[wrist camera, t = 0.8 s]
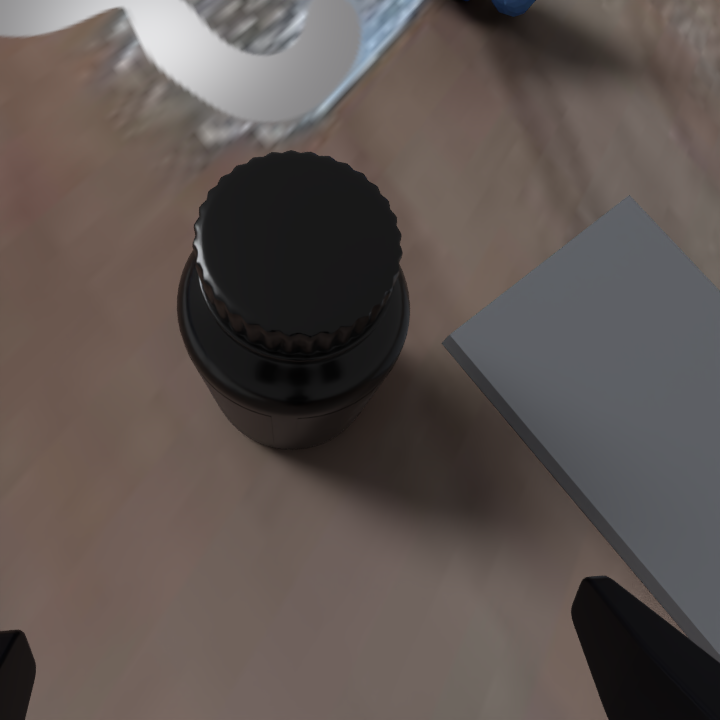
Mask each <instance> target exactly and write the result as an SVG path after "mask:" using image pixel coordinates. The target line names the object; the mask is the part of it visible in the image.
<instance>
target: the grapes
mask: <svg viewBox="0 0 720 720" xmlns="http://www.w3.org/2000/svg"><path fill="white" fill-rule="evenodd" d="M463 1H469V0H463ZM491 1H492V3H493V4H494V6H495V7H496V9H497V10H498V11H499V12H500V13H503V14H506V15H509V16H512V17H515V16H518V15H521V14H524V13H525V12H526V11H527V10H528V9H529V7H530V6H531V5H532V4H533V3H534V2H535V1H536V0H491Z"/></svg>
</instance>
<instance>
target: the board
mask: <svg viewBox="0 0 720 720" xmlns="http://www.w3.org/2000/svg"><path fill="white" fill-rule="evenodd" d="M442 344H443V345H444V347H445V348H446V349H447V350H448V351H449V353H450V354H451V355H452V356H453V357H454V358H455V360H456V361H457V362H458V363H459V364H460V366H461V367H462V368H463V369H464V370H465V372H466V373H467V374H468V375H469V376H470V378H471V379H472V380H473V381H474V382H475V383H476V385H477V386H478V387H479V388H480V389H481V391H482V392H483V393H484V394H485V395H486V397H487V398H488V399H489V400H490V401H491V403H492V404H493V405H494V406H495V407H496V409H497V410H498V411H499V412H500V413H501V414H502V416H503V417H504V418H505V419H506V420H507V422H508V423H509V424H510V425H511V426H512V428H513V429H514V430H515V431H516V432H517V434H518V435H519V436H520V437H521V438H522V440H523V441H524V442H525V443H526V444H527V445H528V447H529V448H530V449H531V450H532V451H533V453H534V454H535V455H536V456H537V457H538V459H539V460H540V461H541V462H542V463H543V465H544V466H545V467H546V468H547V469H548V471H549V472H550V473H551V474H552V475H553V476H554V478H555V479H556V480H557V481H558V482H559V484H560V485H561V486H562V487H563V488H564V490H565V491H566V492H567V493H568V494H569V496H570V497H571V498H572V499H573V500H574V501H575V503H576V504H577V505H578V506H579V507H580V509H581V510H582V511H583V512H584V513H585V515H586V516H587V517H588V518H589V519H590V521H591V522H592V523H593V524H594V525H595V527H596V528H597V529H598V530H599V531H600V532H601V534H602V535H603V536H604V537H605V538H606V540H607V541H608V542H609V543H610V544H611V546H612V547H613V548H614V549H615V550H616V552H617V553H618V554H619V555H620V556H621V558H622V559H623V560H624V561H625V562H626V563H627V565H628V566H629V567H630V568H631V569H632V571H633V572H634V573H635V574H636V575H637V577H638V578H639V579H640V580H641V581H642V583H643V584H644V585H645V586H646V587H647V588H648V590H649V591H650V592H651V593H652V594H653V596H654V597H655V598H656V599H657V600H658V602H659V603H660V604H661V605H662V606H663V608H664V609H665V610H666V611H667V612H668V614H669V615H670V616H671V617H672V618H673V619H674V621H675V622H676V623H677V624H678V625H679V627H680V628H681V629H682V630H683V631H684V633H685V634H686V635H687V636H688V637H689V639H690V640H691V641H693V642H694V643H695V644H697V645H698V646H699V647H700V648H702V649H703V650H704V651H706V652H707V653H708V654H709V655H711V656H712V657H713V658H715V659H716V660H717V661H718V662H720V291H719V290H718V289H717V288H716V286H715V285H714V284H713V283H712V282H711V281H710V280H709V279H708V278H707V277H706V276H705V275H704V274H703V273H702V272H701V271H700V270H699V268H698V267H697V266H696V265H695V264H694V263H693V262H692V261H691V260H690V259H689V258H688V257H687V256H686V255H685V254H684V253H683V251H682V250H681V249H680V248H679V247H678V246H677V245H676V244H675V243H674V242H673V241H672V240H671V239H670V238H669V237H668V236H667V234H666V233H665V232H664V231H663V230H662V229H661V228H660V227H659V226H658V225H657V224H656V223H655V222H654V221H653V220H652V219H651V218H650V216H649V215H648V214H647V213H646V212H645V211H644V210H643V209H642V208H641V207H640V206H639V205H638V204H637V203H636V202H635V201H634V199H633V198H632V197H631V196H630V195H629V196H628V197H626V198H625V199H624V200H622V201H621V202H620V203H619V204H617V205H616V206H615V207H613V208H612V209H611V210H610V211H608V212H607V213H606V214H604V215H603V216H602V217H601V218H599V219H598V220H597V221H595V222H594V223H593V224H592V225H590V226H589V227H588V228H586V229H585V230H584V231H583V232H581V233H580V234H579V235H577V236H576V237H575V238H574V239H572V240H571V241H570V242H568V243H567V244H566V245H564V246H563V247H562V248H561V249H559V250H558V251H557V252H555V253H554V254H553V255H552V256H550V257H549V258H548V259H546V260H545V261H544V262H543V263H541V264H540V265H539V266H537V267H536V268H535V269H534V270H532V271H531V272H530V273H528V274H527V275H526V276H525V277H523V278H522V279H521V280H519V281H518V282H517V283H516V284H514V285H513V286H512V287H510V288H509V289H508V290H507V291H505V292H504V293H503V294H501V295H500V296H499V297H498V298H496V299H495V300H494V301H492V302H491V303H490V304H489V305H487V306H486V307H485V308H483V309H482V310H481V311H480V312H478V313H477V314H476V315H474V316H473V317H472V318H471V319H469V320H468V321H467V322H465V323H464V324H463V325H462V326H460V327H459V328H458V329H456V330H455V331H454V332H453V333H451V334H450V335H449V336H448V337H447V338H446V339H445V340H444V341H443V342H442Z"/></svg>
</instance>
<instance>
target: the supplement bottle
mask: <svg viewBox="0 0 720 720" xmlns="http://www.w3.org/2000/svg"><path fill="white" fill-rule="evenodd" d="M199 216H200V217H199V218H198V219H197V221H196V223H195V224H194V231H195V235H196V236H195V239H194V242H193V251H192V253H191V254H190V256H189V258H188V260H187V262H186V264H185V267H184V269H183V272H182V275H181V279H180V283H179V288H178V295H177V315H178V323H179V328H180V332H181V335H182V338H183V341H184V344H185V347H186V349H187V351H188V354H189V356H190V358H191V360H192V361H193V363H194V365H195V367H196V368H197V370H198V372H199V373H200V375H201V377H202V379H203V380H204V382H205V384H206V385H207V387H208V389H209V390H210V392H211V394H212V395H213V397H214V399H215V400H216V402H217V404H218V406H219V407H220V409H221V410H222V412H223V413H224V415H225V416H226V417H227V419H228V420H229V421H230V422H231V423H232V424H233V425H234V426H235V427H236V428H237V429H238V430H239V431H240V432H242V433H243V434H244V435H246V436H247V437H249V438H251V439H252V440H254V441H256V442H258V443H261V444H263V445H266V446H270V447H274V448H279V449H291V450H293V449H304V448H309V447H313V446H317V445H319V444H322V443H324V442H327V441H329V440H331V439H332V438H334V437H336V436H337V435H339V434H340V433H341V432H343V431H344V430H345V429H346V428H347V427H348V426H349V425H350V424H351V423H352V422H353V421H354V420H355V419H356V417H357V416H358V415H359V414H360V412H361V411H362V410H363V408H364V407H365V405H366V404H367V403H368V401H369V400H370V398H371V397H372V396H373V394H374V393H375V392H376V390H377V389H378V387H379V386H380V385H381V383H382V382H383V380H384V379H385V378H386V376H387V375H388V373H389V372H390V371H391V369H392V368H393V366H394V364H395V362H396V360H397V359H398V357H399V354H400V352H401V350H402V347H403V345H404V342H405V339H406V336H407V331H408V326H409V318H410V301H409V292H408V287H407V283H406V280H405V277H404V273H403V271H402V269H401V266H400V264H399V262H400V260H401V258H402V249H401V246H400V241H401V233H400V231H399V229H398V228H397V226H396V225H397V217H396V216H395V214H394V213H393V212H392V211H391V210H390V205H389V201H388V200H387V199H386V198H385V197H383V196H382V195H381V194H380V191H379V189H378V187H377V186H376V185H374V184H373V183H371V182H369V181H368V180H367V178H366V177H365V175H364V174H363V173H360V172H358V171H355V170H353V169H352V168H351V167H350V166H349V165H348V164H346V163H342V162H337V161H335V160H334V159H333V158H331V157H330V156H318V155H316V154H315V153H312V152H304V153H299V152H296V151H292V150H290V151H287V152H284V153H276V152H271V153H269V154H267V155H266V156H264V157H255V158H252V159H251V160H250V161H249V162H248V163H246V164H242V165H238V166H236V167H235V168H234V169H233V171H232V172H231V173H230V174H227V175H225V176H223V177H221V178H220V180H219V182H218V185H217V186H215V187H214V188H212V189H211V190H210V191H209V192H208V195H207V200H206V201H205V202H204V203H203V204H202V205H201V206H200V207H199Z"/></svg>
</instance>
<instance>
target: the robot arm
mask: <svg viewBox="0 0 720 720" xmlns="http://www.w3.org/2000/svg"><path fill="white" fill-rule="evenodd" d="M571 615H572V620H573V624H574V626H575V629H576V632H577V635H578V638H579V640H580V643H581V646H582V649H583V652H584V654H585V657H586V660H587V663H588V666H589V668H590V671H591V674H592V677H593V680H594V682H595V685H596V688H597V691H598V694H599V696H600V699H601V702H602V704H603V707H604V710H605V712H606V715H607V717H608V719H609V720H720V662H718V661H717V660H716V659H715V658H713V657H712V656H711V655H709V654H708V653H707V652H706V651H704V650H703V649H702V648H700V647H699V646H698V645H697V644H695V643H694V642H693V641H691V640H690V639H689V638H687V637H686V636H685V635H684V634H682V633H681V632H680V631H678V630H677V629H676V628H675V627H673V626H672V625H671V624H669V623H668V622H667V621H666V620H664V619H663V618H662V617H660V616H659V615H658V614H656V613H655V612H654V611H653V610H651V609H650V608H649V607H647V606H646V605H645V604H644V603H642V602H641V601H640V600H638V599H637V598H636V597H635V596H633V595H632V594H631V593H629V592H628V591H627V590H625V589H624V588H623V587H622V586H620V585H619V584H618V583H616V582H615V581H614V580H612V579H611V578H609V577H607V576H593V577H586V578H584V579H583V580H582V581H581V584H580V586H579V589H578V591H577V594H576V596H575V599H574V602H573V604H572V608H571ZM35 674H36V663H35V660H34V657H33V654H32V652H31V649H30V646H29V644H28V641H27V638H26V636H25V634H24V632H22V631H21V630H8V631H0V720H25V717H26V713H27V709H28V705H29V701H30V696H31V692H32V688H33V684H34V680H35Z"/></svg>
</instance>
